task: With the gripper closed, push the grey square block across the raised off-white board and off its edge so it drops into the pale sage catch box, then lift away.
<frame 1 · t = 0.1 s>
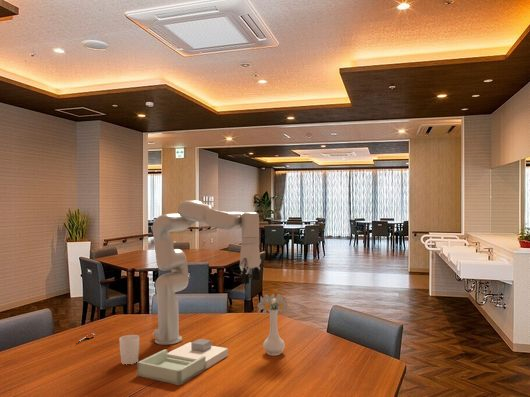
hand: (251, 281, 181), 31 cm above the table, tool pointing down, fingers open, 9 cm apart
catch box: (171, 372, 163), on the table
white cup: (129, 362, 174), on the table
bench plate: (197, 358, 177), on the table
flower vase: (273, 353, 183), on the table
grey square block: (201, 348, 180), point 3 cm above the table, touching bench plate
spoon: (80, 343, 200), on the table
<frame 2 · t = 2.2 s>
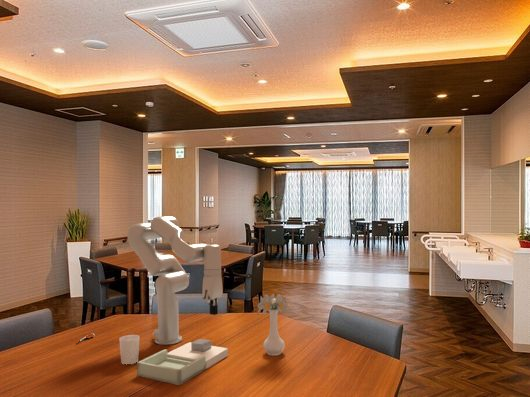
hand: (213, 314, 188), 16 cm above the table, tool pointing down, fingers closed
nothing on the table moved.
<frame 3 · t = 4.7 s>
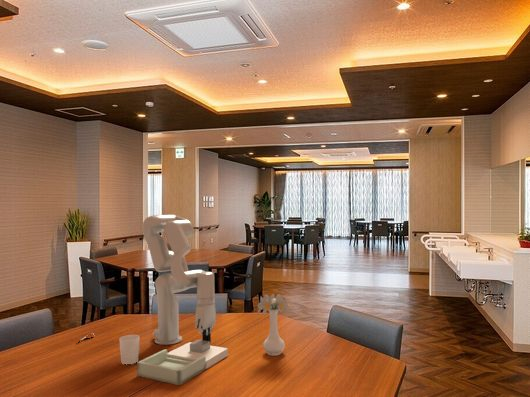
hand: (206, 343, 183), 4 cm above the table, tool pointing down, fingers closed
grey square block: (200, 349, 179), point 3 cm above the table, touching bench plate
everything else where it was.
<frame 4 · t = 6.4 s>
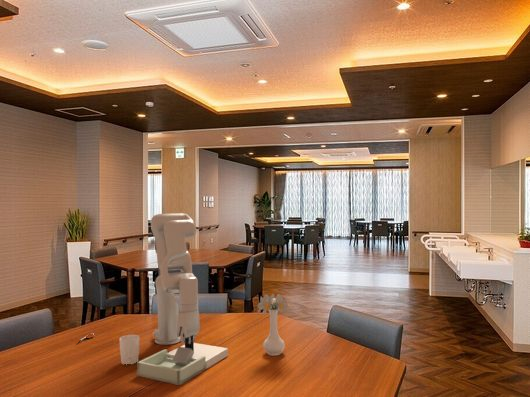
hand: (189, 352, 172), 4 cm above the table, tool pointing down, fingers closed
grey square block: (184, 358, 169), point 3 cm above the table, tilted 45°, touching catch box, gripper
everything else where it was.
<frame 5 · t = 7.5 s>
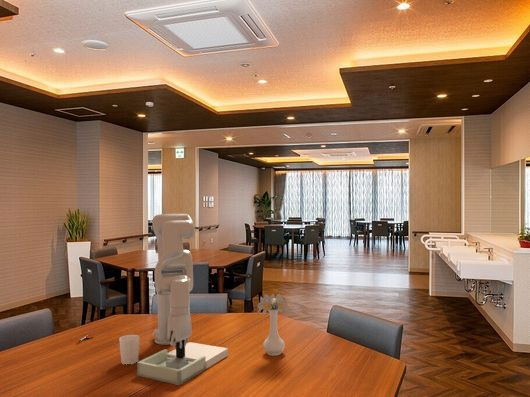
hand: (180, 357, 167), 4 cm above the table, tool pointing down, fingers closed
grey square block: (177, 368, 164), point 1 cm above the table, touching catch box
everything else where it was.
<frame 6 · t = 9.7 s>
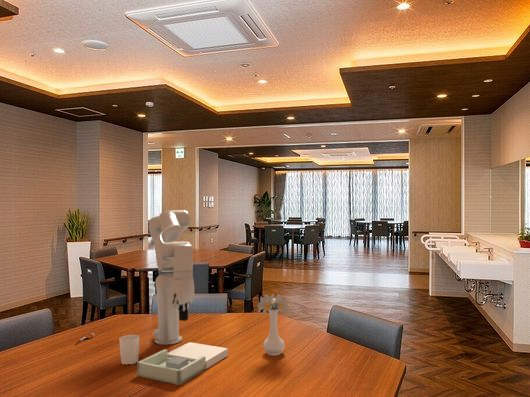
hand: (183, 319, 171), 18 cm above the table, tool pointing down, fingers closed
nothing on the table moved.
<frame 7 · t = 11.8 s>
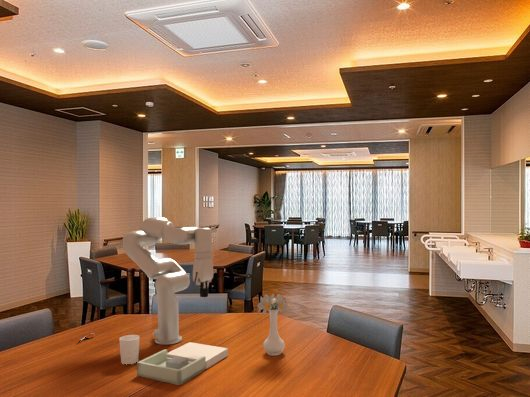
hand: (204, 296, 189), 23 cm above the table, tool pointing down, fingers closed
nothing on the table moved.
at the end: grey square block inside the target area on the catch box (2.4 cm from its centre), point 1.0 cm above the catch box's base; grey square block touching catch box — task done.
